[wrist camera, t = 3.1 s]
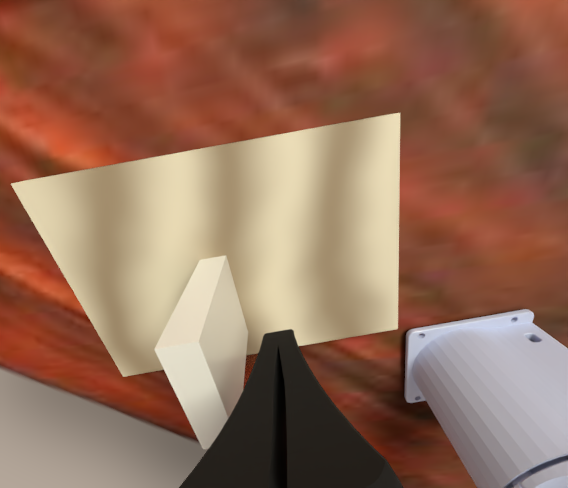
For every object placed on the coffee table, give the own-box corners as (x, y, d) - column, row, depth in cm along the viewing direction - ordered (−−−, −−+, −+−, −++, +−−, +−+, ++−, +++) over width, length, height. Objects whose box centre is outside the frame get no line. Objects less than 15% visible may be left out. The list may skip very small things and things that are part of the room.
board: (391, 113, 14) (400, 112, 13) (391, 319, 20) (397, 329, 19) (26, 180, 14) (10, 183, 13) (129, 365, 20) (123, 376, 19)
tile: (226, 255, 16) (198, 341, 9) (248, 332, 18) (238, 443, 12) (199, 259, 16) (153, 349, 9) (225, 336, 18) (202, 449, 12)
